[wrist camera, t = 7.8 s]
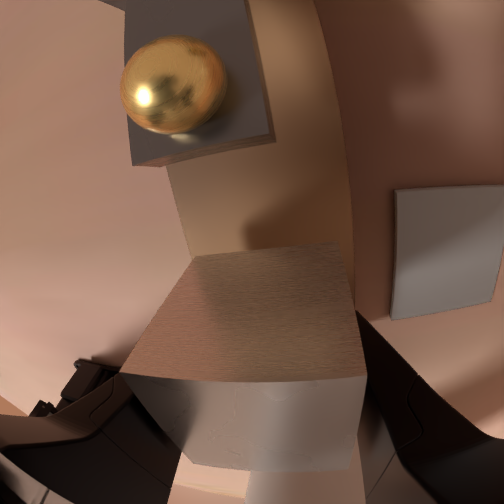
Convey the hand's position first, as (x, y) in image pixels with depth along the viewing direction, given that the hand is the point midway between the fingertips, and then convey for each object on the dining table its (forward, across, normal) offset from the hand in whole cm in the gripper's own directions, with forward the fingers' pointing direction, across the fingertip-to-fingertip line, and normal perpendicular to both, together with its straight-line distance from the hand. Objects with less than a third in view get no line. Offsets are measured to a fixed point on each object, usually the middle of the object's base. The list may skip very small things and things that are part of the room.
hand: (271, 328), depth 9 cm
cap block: (+1, 0, 0) cm, 1 cm away
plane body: (+5, 0, -5) cm, 7 cm away
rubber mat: (+5, -9, +1) cm, 10 cm away
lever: (-1, 0, -11) cm, 11 cm away
